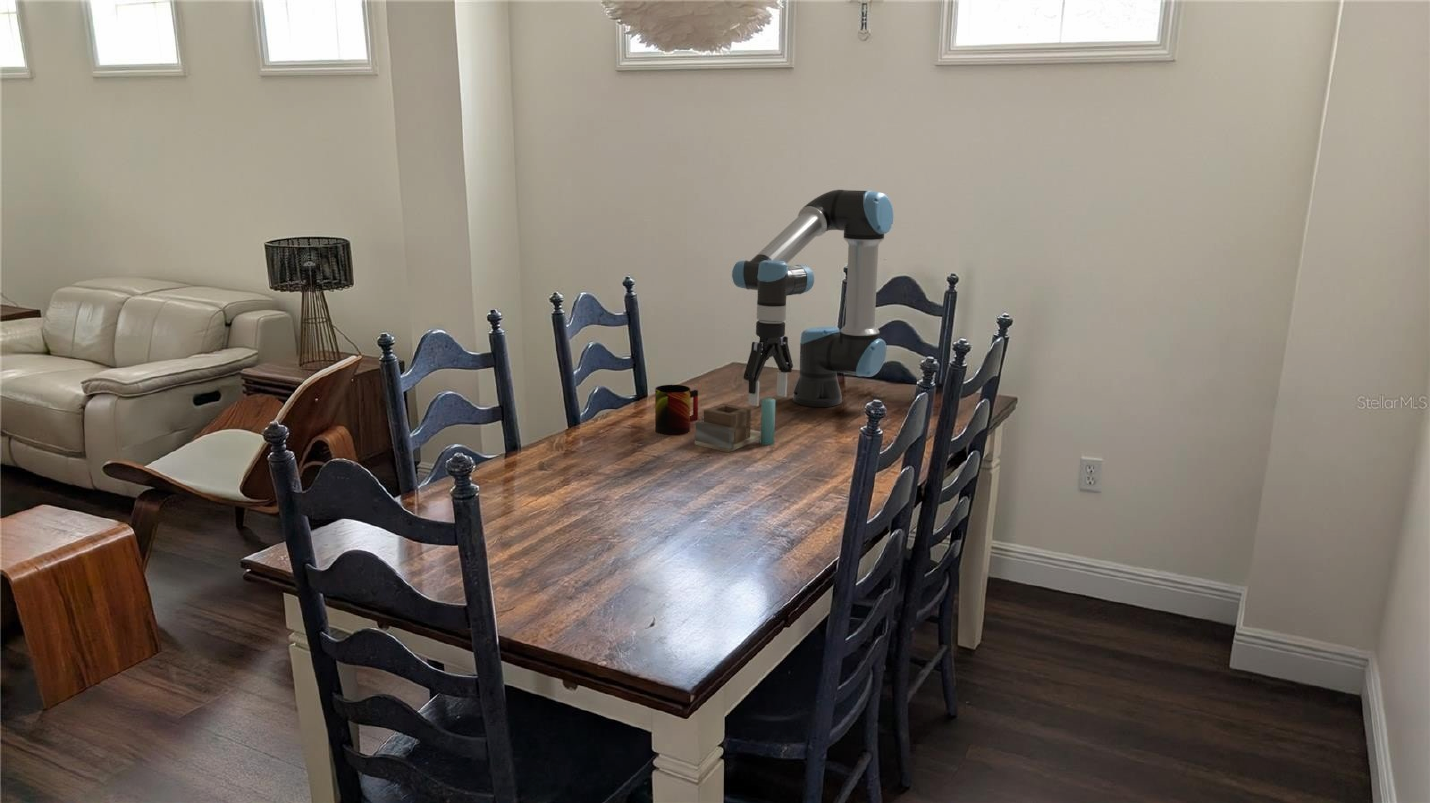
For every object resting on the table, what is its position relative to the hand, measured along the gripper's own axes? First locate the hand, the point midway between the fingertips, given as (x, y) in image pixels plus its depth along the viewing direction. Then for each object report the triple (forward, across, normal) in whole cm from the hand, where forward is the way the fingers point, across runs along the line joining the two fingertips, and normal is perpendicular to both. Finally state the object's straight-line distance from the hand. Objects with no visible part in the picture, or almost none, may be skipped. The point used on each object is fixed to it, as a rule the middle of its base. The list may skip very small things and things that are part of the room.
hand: (767, 400), depth 264 cm
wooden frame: (+12, +3, -9) cm, 15 cm away
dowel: (+12, 0, 0) cm, 12 cm away
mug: (+12, +4, -28) cm, 31 cm away
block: (+11, +6, -9) cm, 15 cm away
